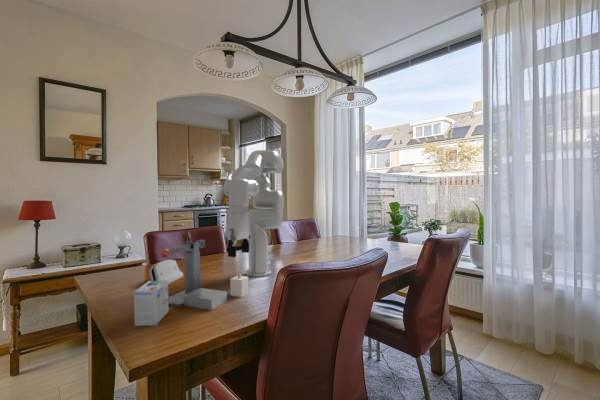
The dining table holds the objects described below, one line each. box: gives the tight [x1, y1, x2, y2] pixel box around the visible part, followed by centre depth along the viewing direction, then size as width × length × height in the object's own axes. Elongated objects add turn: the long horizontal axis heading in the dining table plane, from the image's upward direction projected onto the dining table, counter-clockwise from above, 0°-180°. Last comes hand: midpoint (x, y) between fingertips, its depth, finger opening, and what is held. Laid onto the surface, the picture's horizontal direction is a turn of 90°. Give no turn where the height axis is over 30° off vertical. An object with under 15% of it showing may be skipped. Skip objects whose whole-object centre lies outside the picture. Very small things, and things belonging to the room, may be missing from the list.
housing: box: [229, 273, 249, 298], centre depth 118 cm, size 5×5×8 cm
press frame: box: [168, 240, 228, 311], centre depth 112 cm, size 17×21×20 cm
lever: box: [159, 239, 206, 258], centre depth 115 cm, size 23×3×3 cm, turn 160°
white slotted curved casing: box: [148, 259, 185, 284], centre depth 136 cm, size 17×5×10 cm, turn 171°
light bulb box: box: [133, 280, 170, 327], centre depth 95 cm, size 11×7×11 cm, turn 5°
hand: (238, 254), depth 117 cm, fingers open, 9 cm apart
